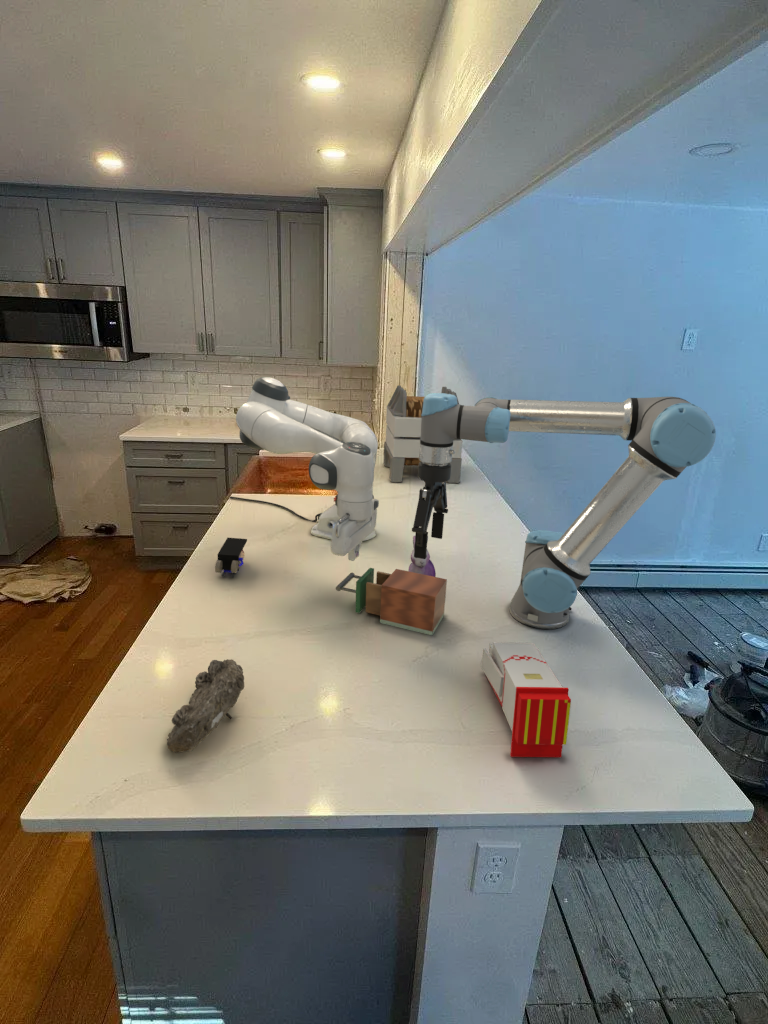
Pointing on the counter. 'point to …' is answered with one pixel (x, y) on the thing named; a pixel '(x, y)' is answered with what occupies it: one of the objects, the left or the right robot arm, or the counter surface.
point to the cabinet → (413, 601)
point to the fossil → (206, 705)
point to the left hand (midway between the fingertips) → (353, 558)
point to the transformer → (410, 435)
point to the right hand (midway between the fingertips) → (428, 547)
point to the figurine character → (230, 556)
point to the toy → (528, 698)
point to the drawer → (366, 590)
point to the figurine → (421, 564)
